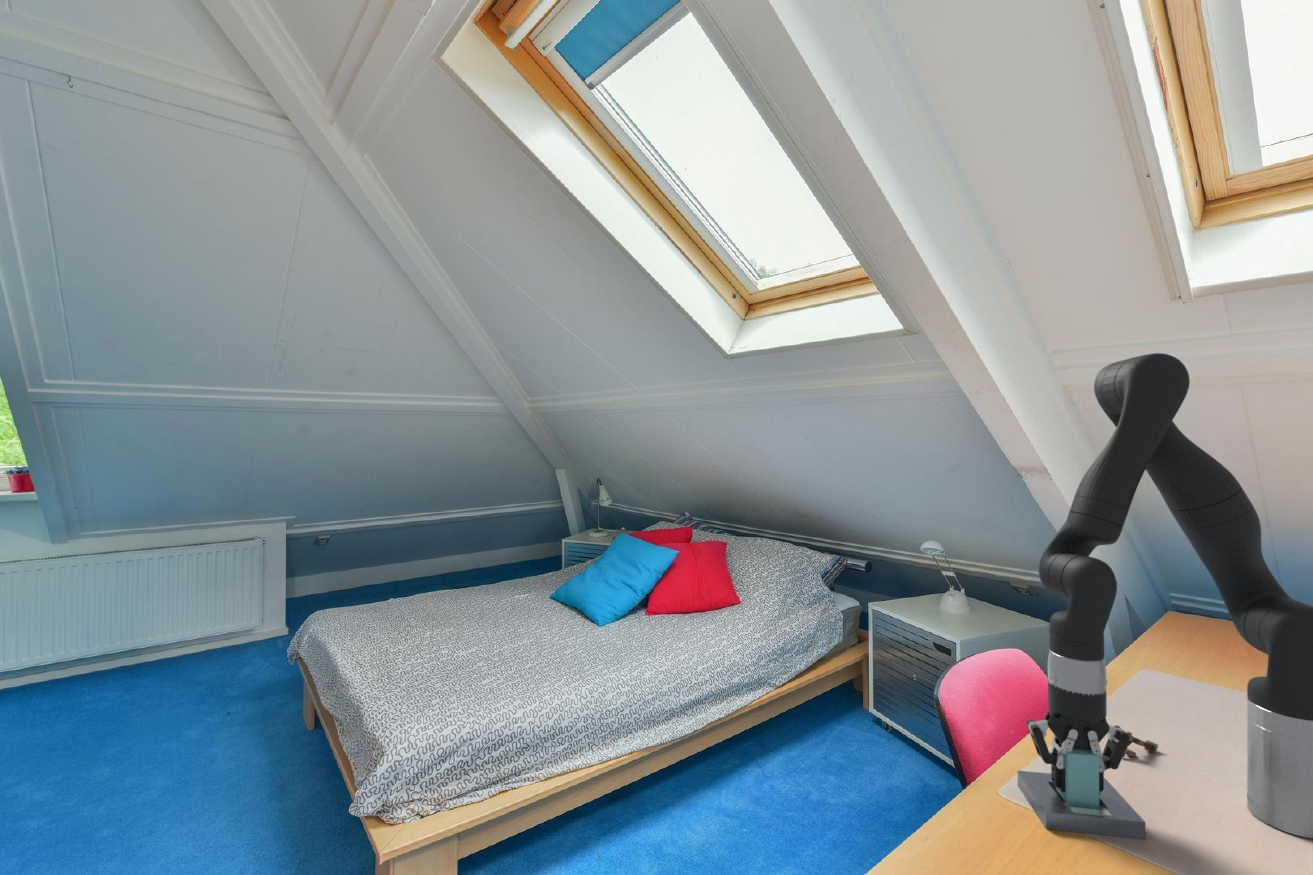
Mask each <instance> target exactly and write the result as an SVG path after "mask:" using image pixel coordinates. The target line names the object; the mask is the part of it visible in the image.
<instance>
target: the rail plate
mask: <svg viewBox="0 0 1313 875" xmlns="http://www.w3.org/2000/svg"><path fill="white" fill-rule="evenodd" d="M1051 776H1052V775H1051V772H1050V773H1048V772H1039V771H1037V772H1036V771H1025V770H1017V787H1018V788H1019V790H1020V791H1021V793H1022V794H1023V796H1024V797H1025V799H1026V801H1027V802H1028V804H1029V805H1030V807H1031V809H1032V810H1033V811H1034V813H1035V814H1036V816H1037V817H1038V818H1039V820H1040V822H1041V824H1042V825H1043V827H1044V828H1045V829H1046V830H1053V831H1055V830H1056V831H1065V832H1074V833H1082V834H1083V833H1084V834H1093V835H1103V836H1111V837H1121V838H1129V839H1130V838H1131V839H1141V840H1145V839H1146V821H1145V820H1144V819H1143V818H1142V817H1141V816H1140V814H1138V813H1137V811H1136V810H1135V809H1134V808H1133V807H1132V806H1131V805H1130V804H1129V803H1128V801H1127V800H1126V799H1125V798H1124V797H1123V795H1121V794H1120V793H1119V792H1118V790H1116V788H1115V787H1114V786H1113V785H1112V784H1111V782H1109V781H1108V780H1107V779H1106V778H1105V777H1104V789H1103V791H1100V795H1099V808H1096V807H1086V806H1076V805H1068V804H1064V802H1063V801H1062V799H1063V797H1062V796H1061V795H1060V793H1059V792H1058V791H1057V789H1056V786H1055V784H1054V783H1053V782H1052V779H1051Z"/></svg>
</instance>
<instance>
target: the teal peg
mask: <svg viewBox="0 0 1313 875" xmlns="http://www.w3.org/2000/svg"><path fill="white" fill-rule="evenodd" d="M1064 769H1065V792H1060V790H1059V789H1058V788H1057V787H1056V789H1057V791H1058V792H1059V793H1060V795H1061V796H1062V797H1063V798H1062V799H1063V800H1064V801H1065V803H1066V805H1076V806H1086V807H1096V808H1099V756H1098V755H1093V754H1092V753H1091V750H1085V749H1082V748H1076V749H1072V751H1071V753H1068V752H1067V756H1066V764H1065V767H1064Z"/></svg>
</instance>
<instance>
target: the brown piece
mask: <svg viewBox="0 0 1313 875" xmlns="http://www.w3.org/2000/svg"><path fill="white" fill-rule="evenodd" d="M1126 733H1127V734H1128V735H1129V736H1130V739H1129V741H1128V744H1127V746H1126V749H1125V752H1124V754H1123V757H1122V758H1125V757H1126V756H1129V757H1130V758H1131V757H1133V758H1135V757H1136V755H1137V752H1135V751H1134V750H1131V749H1129V748H1128V747H1129V746H1130V745H1131V744H1132V743H1133V744H1136V745H1138V746H1140V747H1143V749H1144V750H1146V749H1147V750H1146V751H1148V752H1150V753H1152V754H1154V753H1156V754H1157V751H1158V748H1159V744H1158V743H1155V742H1153V741H1151V740H1149V739H1146V741H1144V740H1142V739H1140V738H1137V737H1135V736H1133V733H1132V732H1130V731H1127V732H1126Z"/></svg>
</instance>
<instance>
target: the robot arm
mask: <svg viewBox="0 0 1313 875" xmlns="http://www.w3.org/2000/svg"><path fill="white" fill-rule="evenodd" d="M1189 388H1190V374H1189V371H1188V370H1187V368H1186V365H1185V364H1184V363H1183V362H1182V361H1181V360H1180V359H1178V358H1177V357H1176V356H1173V355H1170V354H1168V353H1161V352H1159V353H1155V352H1154V353H1149V354H1147V353H1146V354H1142V355H1139V356H1134V357H1130V358H1126V359H1123V360H1120V361H1119V360H1118V361H1116V362H1112V363H1110V364H1107V365H1106V366H1104V367H1102V369H1100V370H1099V372H1098V373H1097V374H1096V376H1095V380H1094V383H1093V391H1094V395H1095V398H1096V400H1097V403H1098V405H1099V406H1100V408H1101V409H1102V410H1103V412H1104V413H1105V415H1106V416H1107V417H1108V419H1109V420H1110V422H1112V424H1113V426H1115V427H1116V428H1115V429H1114V432H1113V433H1112V436H1111V437H1110V439H1109V440H1108V443H1107V444H1106V445H1105V447H1104V448H1103V449H1102V451H1101V452H1100V453H1099V454H1098V456H1097V458H1096V459H1094V461H1093V462H1092V464H1091V465H1090V467H1089V468H1088V469H1087V471H1086V472H1085V473H1084V475H1083V477H1082V479H1081V480H1080V482H1079V484H1078V487H1077V489H1076V492H1075V494H1074V496H1073V500H1072V502H1071V506H1070V508H1069V511H1068V513H1067V514H1068V515H1067V518H1066V521H1065V522H1064V523H1063V525H1062V526H1061V527H1060V529H1059V530H1058V531H1057V532H1056V534H1055V535H1054V537H1053V538H1052V539H1051V541H1050V542H1049V544H1048V545H1047V547H1046V548H1045V549H1044V551H1043V552H1042V555H1041V557H1040V560H1039V563H1038V576H1039V580H1040V582H1041V584H1042V585H1043V587H1045V588H1046V589H1047V590H1049V591H1050V592H1052V593H1054V594H1057V595H1060V596H1063V597H1065V598H1068V599H1069V606H1068V609H1067V610H1060V611H1056V612H1055V613H1053V614H1051V616H1050V619H1049V625H1048V626H1049V627H1048V628H1049V632H1048V635H1049V636H1048V642H1049V644H1048V646H1049V648H1048V649H1049V650H1048V651H1049V652H1048V657H1047V708H1048V710H1047V711H1048V712H1047V713H1046V715H1045V716H1044V719H1042V720H1041V719H1040V720H1037V721H1034V720H1033V719H1028V720H1026V725H1027V729H1028V732H1029V734H1030V737H1031V740H1032V742H1033V744H1034V747H1035V750H1036V754H1037V755H1038V756H1039V757H1040V758H1041V760H1042V761H1043V762H1044V763H1045V764H1047V765H1051V768H1050V769H1051V770H1050V774H1051V775H1052V776H1051V779H1052V782H1053V783H1054V784H1055V786H1056V787H1057V788H1058V789H1059V790H1060V792H1065V769H1064V767H1065V764H1066V756H1067V752H1068V753H1071V751H1072V749H1076V748H1082V749H1085V750H1091V753H1092V754H1093V755H1098V756H1099V795H1100V791H1103V789H1104V778H1105V771H1106V770H1109V769H1111V770H1117V769H1119V767H1120V765H1121V762H1122V759H1123V758H1124V757H1123V754H1124V752H1125V749H1126V746H1127V744H1128V741H1129V739H1130V736H1129V735H1128V734H1127V732H1126V731H1125V730H1124V729H1123V728H1122V727H1120V726H1119V725H1110V724H1109V723H1108V721H1107V719H1106V718H1107V714H1108V713H1107V712H1108V711H1107V710H1108V708H1107V707H1108V706H1107V703H1108V702H1107V699H1108V698H1107V692H1108V691H1107V685H1108V679H1107V668H1106V662H1105V630H1106V628H1107V624H1108V621H1109V619H1110V616H1111V612H1112V609H1113V607H1114V603H1115V600H1116V598H1117V595H1118V594H1117V593H1118V583H1117V578H1116V575H1115V573H1114V571H1113V569H1112V568H1111V566H1109V564H1108V563H1106V562H1105V561H1103V560H1101V559H1098V558H1096V557H1092V556H1091V554H1092V553H1093V551H1094V550H1095V549H1096V548H1097V547H1099V546H1108V545H1109V546H1110V545H1113V544H1115V543H1116V542H1118V540H1119V538H1120V536H1121V535H1122V531H1123V528H1124V525H1125V523H1126V519H1127V517H1128V513H1129V511H1130V508H1131V505H1132V503H1133V499H1134V497H1135V493H1136V492H1137V489H1138V487H1139V484H1140V481H1141V479H1142V478H1143V475H1144V473H1145V471H1146V473H1147V474H1148V476H1149V477H1150V479H1151V480H1152V482H1153V484H1154V485H1155V487H1156V488H1157V490H1158V491H1159V493H1160V495H1161V496H1162V499H1163V501H1164V502H1165V504H1166V506H1167V508H1168V510H1169V511H1170V513H1171V515H1172V516H1173V517H1174V520H1175V521H1176V522H1177V524H1178V526H1179V528H1180V529H1181V530H1182V532H1183V534H1184V535H1185V537H1186V538H1187V539H1188V541H1189V543H1190V544H1191V546H1192V548H1193V550H1194V551H1195V553H1196V554H1197V556H1198V558H1199V559H1200V561H1201V562H1202V563H1203V565H1204V566H1205V568H1206V569H1207V572H1208V573H1209V574H1210V576H1211V578H1212V580H1213V581H1214V584H1215V585H1216V587H1217V590H1218V592H1219V594H1220V596H1221V599H1222V601H1223V603H1224V605H1225V608H1226V609H1227V612H1228V614H1229V617H1230V619H1231V621H1232V622H1233V625H1234V627H1235V629H1236V630H1237V632H1238V634H1239V635H1240V636H1241V638H1242V639H1243V640H1244V641H1245V642H1247V644H1248V645H1249V646H1251V647H1252V648H1254V649H1256V650H1257V651H1258V652H1259V651H1260V652H1262V653H1263V654H1266V655H1267V657H1268V659H1267V667H1266V668H1267V669H1266V670H1267V671H1266V676H1265V675H1264V676H1255V677H1252V678H1250V679H1249V680H1248V682H1247V687H1246V688H1247V690H1246V691H1247V692H1246V694H1247V695H1246V697H1247V698H1246V705H1247V706H1246V708H1247V709H1246V710H1247V711H1246V712H1247V713H1246V715H1247V716H1246V719H1247V720H1246V721H1247V724H1246V725H1247V728H1246V729H1247V730H1246V734H1247V735H1246V738H1247V739H1246V740H1247V742H1246V746H1247V748H1246V750H1247V751H1246V752H1247V754H1246V755H1247V758H1246V759H1247V761H1246V765H1247V766H1246V770H1247V771H1246V773H1247V774H1246V778H1247V779H1246V782H1247V784H1246V787H1247V788H1246V800H1247V801H1246V802H1247V803H1246V804H1247V806H1246V807H1247V809H1248V810H1249V812H1250V813H1251V814H1252V815H1253V816H1255V817H1256V818H1257V819H1258V820H1260V821H1262V822H1263V823H1265V824H1267V825H1269V826H1271V827H1272V828H1276V829H1278V830H1280V831H1283V832H1285V833H1288V834H1292V835H1295V836H1299V837H1302V838H1307V839H1312V840H1313V606H1312V605H1310V604H1306V603H1304V602H1302V601H1301V602H1300V601H1298V600H1295V599H1293V598H1292V597H1291V596H1290V595H1288V594H1287V592H1286V591H1285V590H1284V589H1283V588H1282V586H1281V584H1280V583H1279V582H1278V581H1277V579H1276V578H1275V576H1274V575H1273V574H1272V572H1271V570H1270V568H1269V567H1268V565H1267V563H1266V561H1265V559H1264V556H1263V551H1262V549H1263V548H1262V527H1261V521H1260V519H1259V518H1260V517H1259V514H1258V513H1257V510H1256V508H1255V507H1254V505H1253V503H1252V501H1251V500H1250V498H1249V497H1248V495H1247V493H1246V491H1245V490H1244V488H1243V487H1242V486H1241V484H1240V482H1239V481H1238V479H1237V478H1236V477H1235V476H1234V475H1233V474H1232V473H1231V472H1230V470H1228V468H1226V467H1225V466H1224V465H1223V464H1222V463H1221V462H1219V461H1218V460H1217V459H1215V458H1214V457H1213V456H1212V455H1211V454H1209V453H1208V452H1206V451H1205V450H1204V449H1203V448H1201V447H1200V446H1198V445H1197V444H1195V443H1194V442H1193V441H1192V440H1191V439H1189V438H1188V437H1187V436H1186V435H1185V434H1184V433H1183V432H1182V431H1181V430H1180V429H1179V428H1178V427H1177V425H1176V424H1175V422H1174V421H1173V420H1174V418H1175V417H1176V415H1177V414H1178V412H1179V410H1180V408H1181V407H1182V405H1183V403H1184V401H1185V399H1186V398H1187V397H1186V396H1187V395H1188V392H1189ZM1048 729H1050V731H1051V732H1052V733H1053V737H1052V741H1051V745H1052V746H1051V750H1050V751H1049V748H1048V744H1047V743H1046V740H1045V737H1047V734H1048V733H1047V731H1048ZM1106 736H1107V738H1108V739H1107V741H1106V744H1105V746H1104V749H1103V750H1102V749H1101V746H1100V742H1101V741H1102V740H1103V739H1104V738H1105V737H1106ZM1102 751H1103V752H1102Z"/></svg>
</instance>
